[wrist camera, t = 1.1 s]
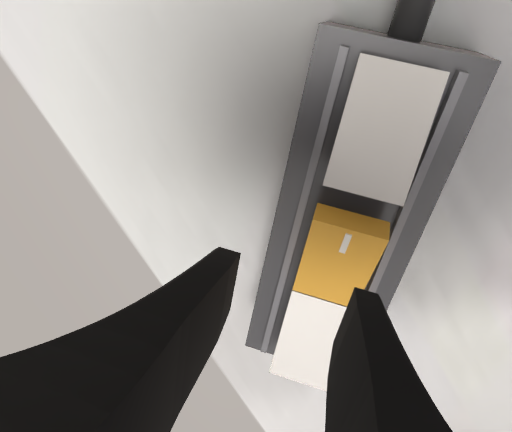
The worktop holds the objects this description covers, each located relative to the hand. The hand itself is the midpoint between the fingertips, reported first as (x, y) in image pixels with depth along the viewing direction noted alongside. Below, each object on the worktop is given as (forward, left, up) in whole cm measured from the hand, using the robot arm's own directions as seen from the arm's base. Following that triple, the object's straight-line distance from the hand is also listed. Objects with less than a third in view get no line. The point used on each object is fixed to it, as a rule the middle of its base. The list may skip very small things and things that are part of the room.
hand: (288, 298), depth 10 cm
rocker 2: (-1, -3, -6) cm, 7 cm away
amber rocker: (-1, +2, -6) cm, 7 cm away
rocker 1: (-1, +7, -6) cm, 9 cm away
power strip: (-1, -1, -10) cm, 10 cm away
